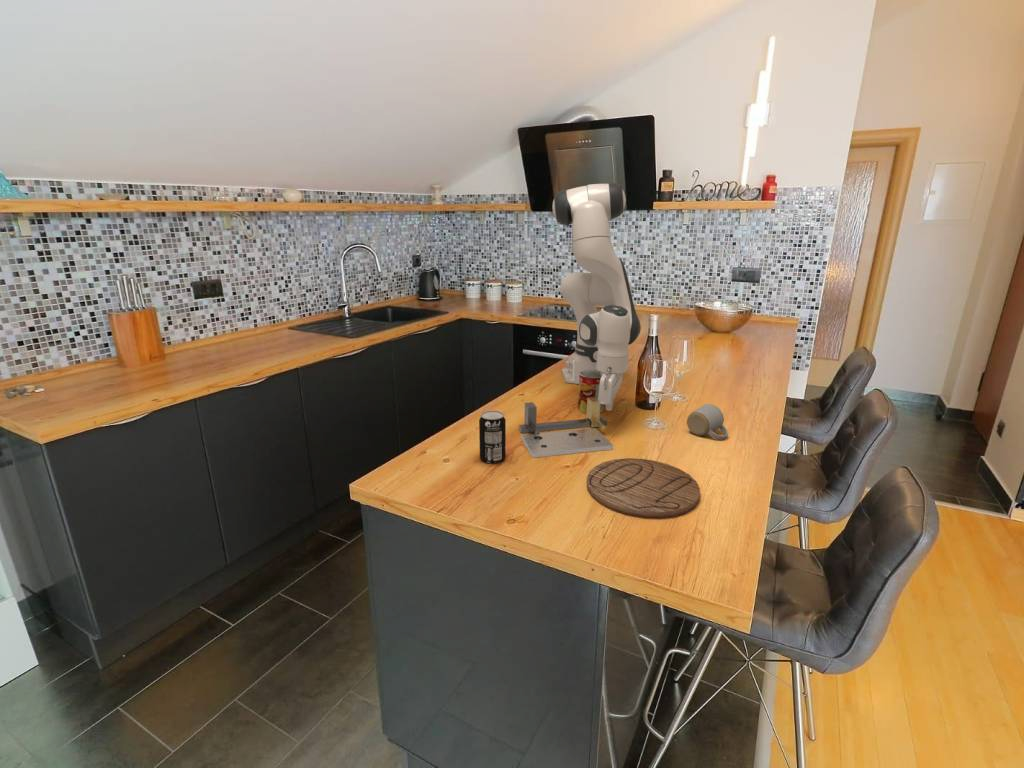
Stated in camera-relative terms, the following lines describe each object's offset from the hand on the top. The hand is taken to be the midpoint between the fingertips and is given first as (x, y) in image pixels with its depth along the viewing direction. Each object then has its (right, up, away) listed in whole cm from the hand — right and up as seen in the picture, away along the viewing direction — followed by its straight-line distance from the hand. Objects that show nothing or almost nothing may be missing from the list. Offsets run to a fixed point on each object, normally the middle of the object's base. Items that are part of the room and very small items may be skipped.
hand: (609, 408), depth 158 cm
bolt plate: (-14, -9, -12) cm, 21 cm away
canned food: (-4, -1, +12) cm, 13 cm away
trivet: (+1, -17, -35) cm, 39 cm away
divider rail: (-13, -6, -4) cm, 15 cm away
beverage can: (-33, -12, -21) cm, 41 cm away
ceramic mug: (+27, -7, -5) cm, 28 cm away
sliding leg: (-4, -5, -2) cm, 7 cm away
